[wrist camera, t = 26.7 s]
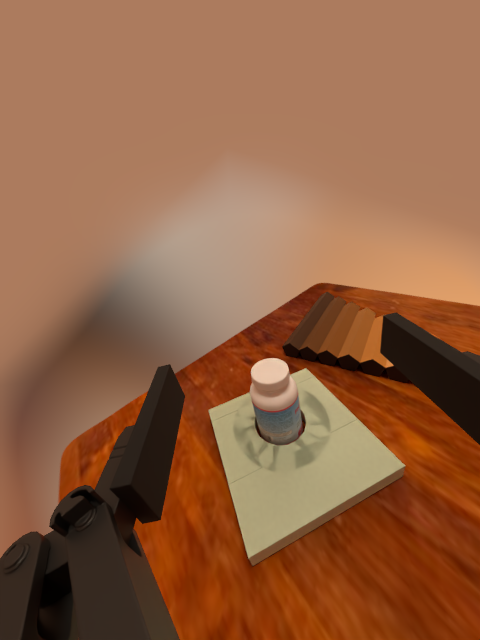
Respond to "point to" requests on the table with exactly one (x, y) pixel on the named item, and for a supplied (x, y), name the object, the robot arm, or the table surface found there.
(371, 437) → the mounting pad
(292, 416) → the pill bottle
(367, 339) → the pan flute
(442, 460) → the table surface
